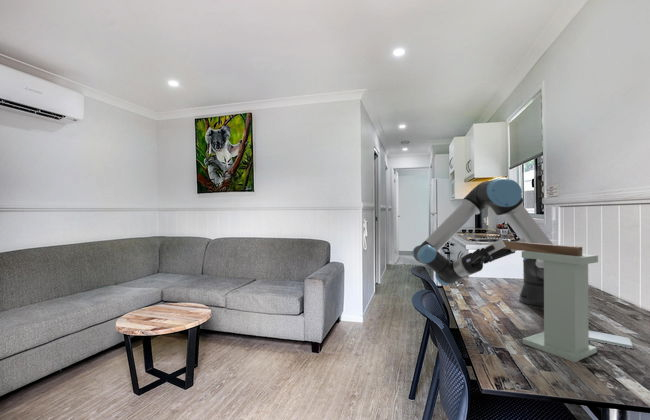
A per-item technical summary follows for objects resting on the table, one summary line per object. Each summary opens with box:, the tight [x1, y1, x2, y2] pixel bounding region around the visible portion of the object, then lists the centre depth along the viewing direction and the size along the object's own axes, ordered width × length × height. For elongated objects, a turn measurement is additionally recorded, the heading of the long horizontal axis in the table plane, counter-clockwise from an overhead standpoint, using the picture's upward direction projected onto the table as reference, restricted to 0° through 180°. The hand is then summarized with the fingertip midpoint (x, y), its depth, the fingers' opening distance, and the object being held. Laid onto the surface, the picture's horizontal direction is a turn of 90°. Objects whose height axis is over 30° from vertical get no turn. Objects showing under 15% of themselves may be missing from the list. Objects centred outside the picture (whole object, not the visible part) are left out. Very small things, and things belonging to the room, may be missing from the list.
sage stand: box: [521, 250, 599, 363], centre depth 94 cm, size 13×16×29 cm
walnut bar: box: [503, 240, 583, 256], centre depth 99 cm, size 3×24×2 cm, turn 28°
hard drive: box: [589, 329, 634, 350], centre depth 100 cm, size 2×8×12 cm
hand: (515, 241), depth 105 cm, fingers open, 13 cm apart
